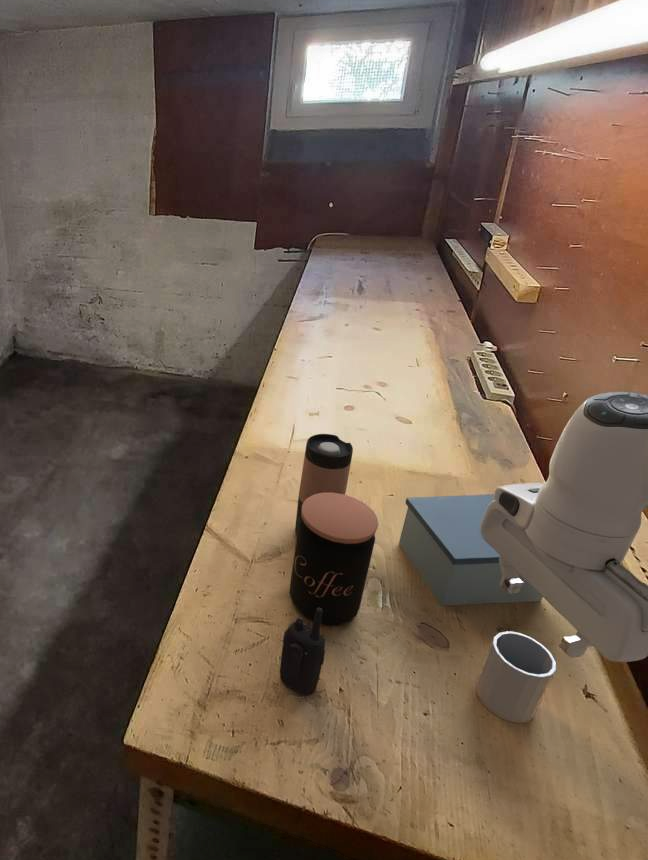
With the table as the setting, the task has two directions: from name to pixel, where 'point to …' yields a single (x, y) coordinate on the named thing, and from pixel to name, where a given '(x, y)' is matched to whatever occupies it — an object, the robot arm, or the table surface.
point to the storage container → (456, 551)
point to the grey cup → (515, 676)
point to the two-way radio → (302, 655)
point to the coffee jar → (332, 557)
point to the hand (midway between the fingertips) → (537, 618)
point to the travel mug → (324, 468)
